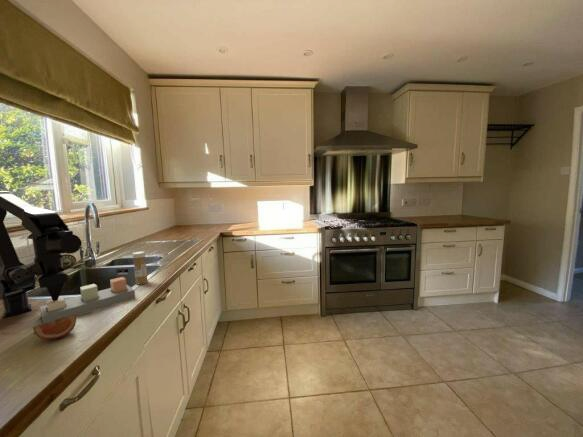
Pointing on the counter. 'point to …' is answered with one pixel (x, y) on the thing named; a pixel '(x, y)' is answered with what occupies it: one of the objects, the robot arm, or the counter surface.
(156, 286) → the counter surface
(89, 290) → the sage key
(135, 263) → the sprinkles bottle
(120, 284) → the terracotta key
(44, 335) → the fruit slice
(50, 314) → the key panel
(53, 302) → the ivory key
